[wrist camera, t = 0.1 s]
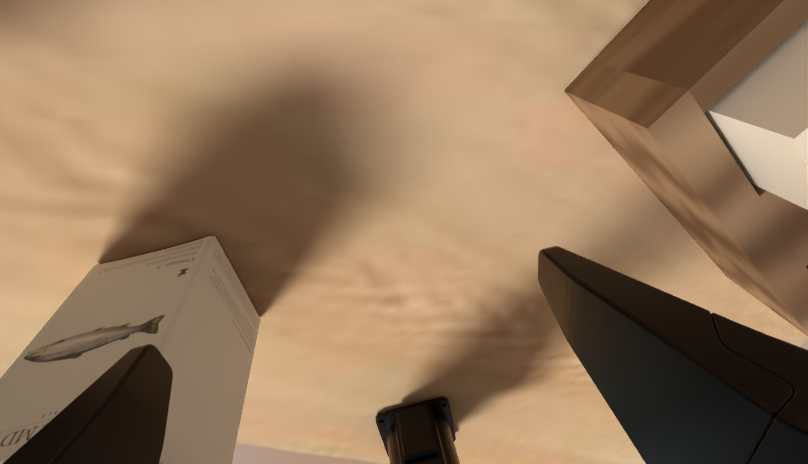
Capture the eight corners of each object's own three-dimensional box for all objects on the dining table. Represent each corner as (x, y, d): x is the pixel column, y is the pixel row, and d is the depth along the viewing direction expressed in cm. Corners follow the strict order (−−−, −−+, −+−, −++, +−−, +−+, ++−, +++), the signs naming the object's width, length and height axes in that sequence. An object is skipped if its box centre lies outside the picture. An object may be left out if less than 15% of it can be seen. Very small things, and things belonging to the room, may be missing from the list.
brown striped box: (853, 183, 30) (981, 231, 24) (727, 277, 34) (813, 340, 28) (732, -86, 20) (906, -115, 14) (564, 91, 23) (647, 128, 17)
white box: (807, 74, 21) (997, 110, 15) (705, 162, 23) (839, 225, 17) (767, -15, 18) (979, -14, 12) (656, 92, 20) (794, 138, 14)
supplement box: (216, 230, 24) (128, 430, 13) (263, 319, 28) (225, 527, 17) (90, 261, 23) (-104, 491, 13) (155, 346, 27) (49, 576, 17)
